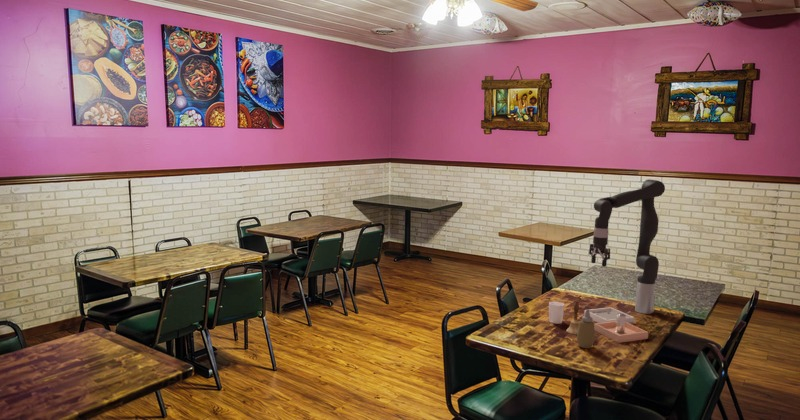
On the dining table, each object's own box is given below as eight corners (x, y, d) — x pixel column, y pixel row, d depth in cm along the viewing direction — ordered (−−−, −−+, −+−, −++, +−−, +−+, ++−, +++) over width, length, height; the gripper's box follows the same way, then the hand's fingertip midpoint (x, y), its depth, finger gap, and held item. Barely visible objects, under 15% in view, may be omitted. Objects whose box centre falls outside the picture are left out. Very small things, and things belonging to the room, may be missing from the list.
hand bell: (564, 328, 290) (566, 298, 288) (580, 329, 290) (582, 299, 288) (568, 334, 282) (570, 303, 280) (585, 335, 282) (587, 304, 279)
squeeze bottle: (573, 343, 270) (576, 307, 267) (589, 343, 271) (592, 306, 268) (580, 349, 262) (582, 312, 259) (597, 349, 263) (599, 312, 260)
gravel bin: (610, 313, 317) (610, 307, 317) (633, 323, 300) (634, 317, 300) (584, 316, 311) (584, 310, 310) (606, 326, 294) (607, 320, 294)
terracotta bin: (621, 326, 295) (622, 320, 295) (647, 338, 278) (648, 331, 278) (593, 330, 289) (594, 323, 288) (618, 342, 272) (619, 335, 272)
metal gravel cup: (620, 330, 286) (621, 313, 285) (626, 333, 282) (627, 315, 281) (613, 331, 285) (614, 313, 283) (619, 334, 281) (620, 316, 279)
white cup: (563, 320, 303) (564, 302, 302) (562, 325, 296) (564, 306, 294) (548, 318, 306) (549, 300, 304) (547, 323, 298) (548, 304, 297)
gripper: (615, 238, 304) (613, 267, 307) (597, 233, 318) (595, 261, 320) (604, 238, 302) (601, 268, 304) (586, 233, 315) (584, 262, 317)
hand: (598, 264), depth 312 cm, fingers open, 8 cm apart
